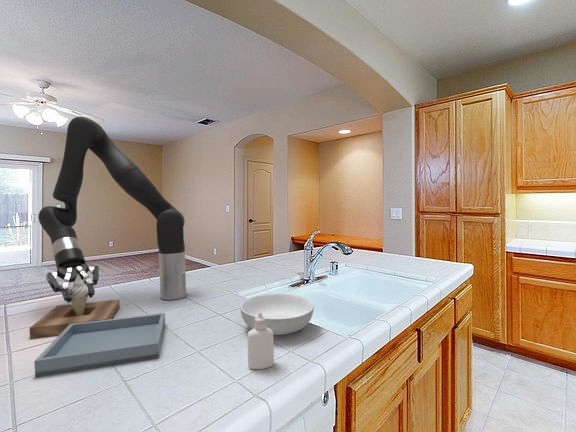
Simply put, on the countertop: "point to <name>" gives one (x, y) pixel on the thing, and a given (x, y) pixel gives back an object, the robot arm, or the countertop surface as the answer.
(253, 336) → the eye dropper bottle
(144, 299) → the countertop surface
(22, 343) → the countertop surface
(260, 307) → the serving bowl
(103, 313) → the walnut board
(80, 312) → the ice cream cone
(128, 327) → the slate blue tray
